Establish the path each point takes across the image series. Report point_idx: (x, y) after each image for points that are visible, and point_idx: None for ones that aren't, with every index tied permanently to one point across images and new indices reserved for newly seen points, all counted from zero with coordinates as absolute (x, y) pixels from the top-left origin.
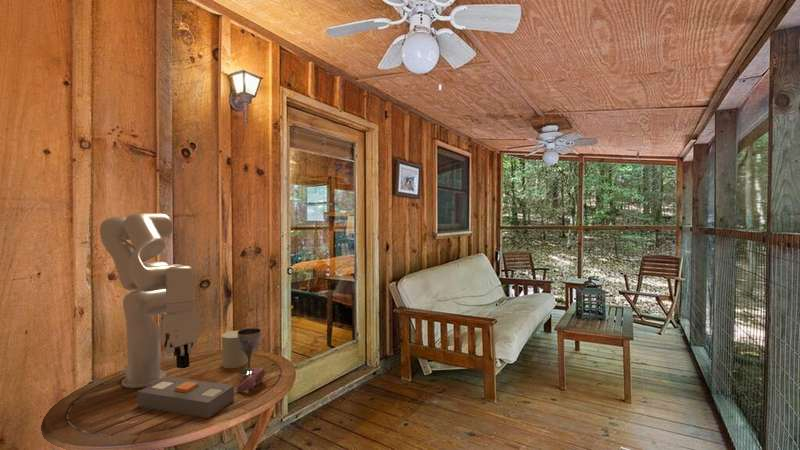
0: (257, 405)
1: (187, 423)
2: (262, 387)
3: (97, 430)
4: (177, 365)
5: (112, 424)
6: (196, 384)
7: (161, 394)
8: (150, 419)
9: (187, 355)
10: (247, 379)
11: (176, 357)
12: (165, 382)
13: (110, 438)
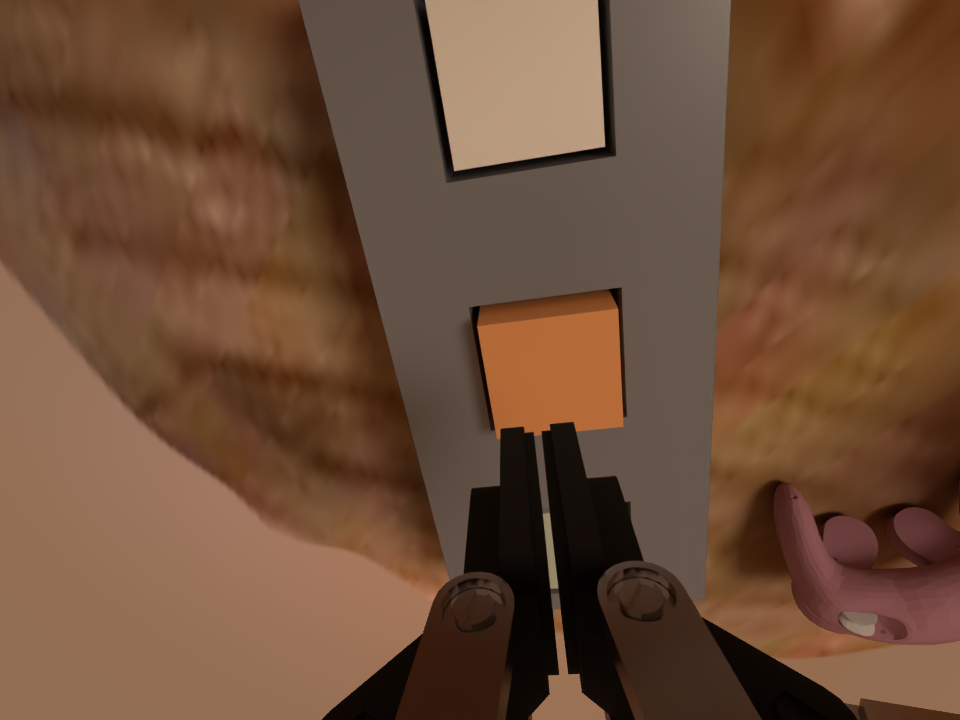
0: None
1: (383, 495)
2: None
3: (15, 91)
4: (471, 494)
5: (109, 107)
6: (603, 425)
7: (382, 268)
8: (295, 287)
9: (579, 665)
10: (823, 608)
11: (500, 519)
12: (581, 34)
13: (62, 274)
